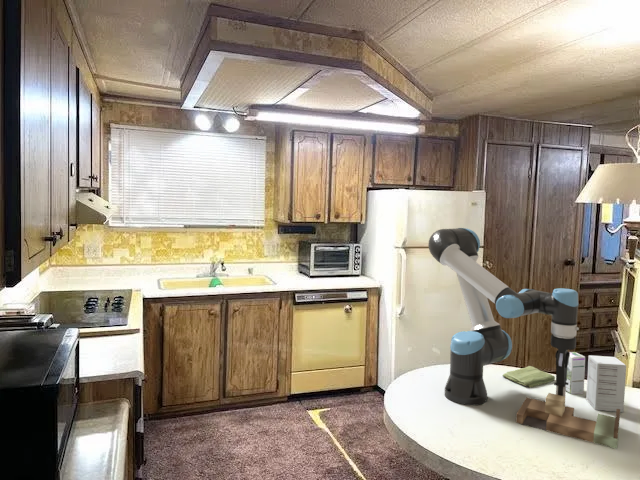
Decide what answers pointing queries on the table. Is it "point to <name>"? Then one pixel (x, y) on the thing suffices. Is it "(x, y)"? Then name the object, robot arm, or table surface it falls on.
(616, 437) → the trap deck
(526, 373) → the washcloth
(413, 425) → the table surface
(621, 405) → the supplement box
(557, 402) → the maple block
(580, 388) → the syrup box
